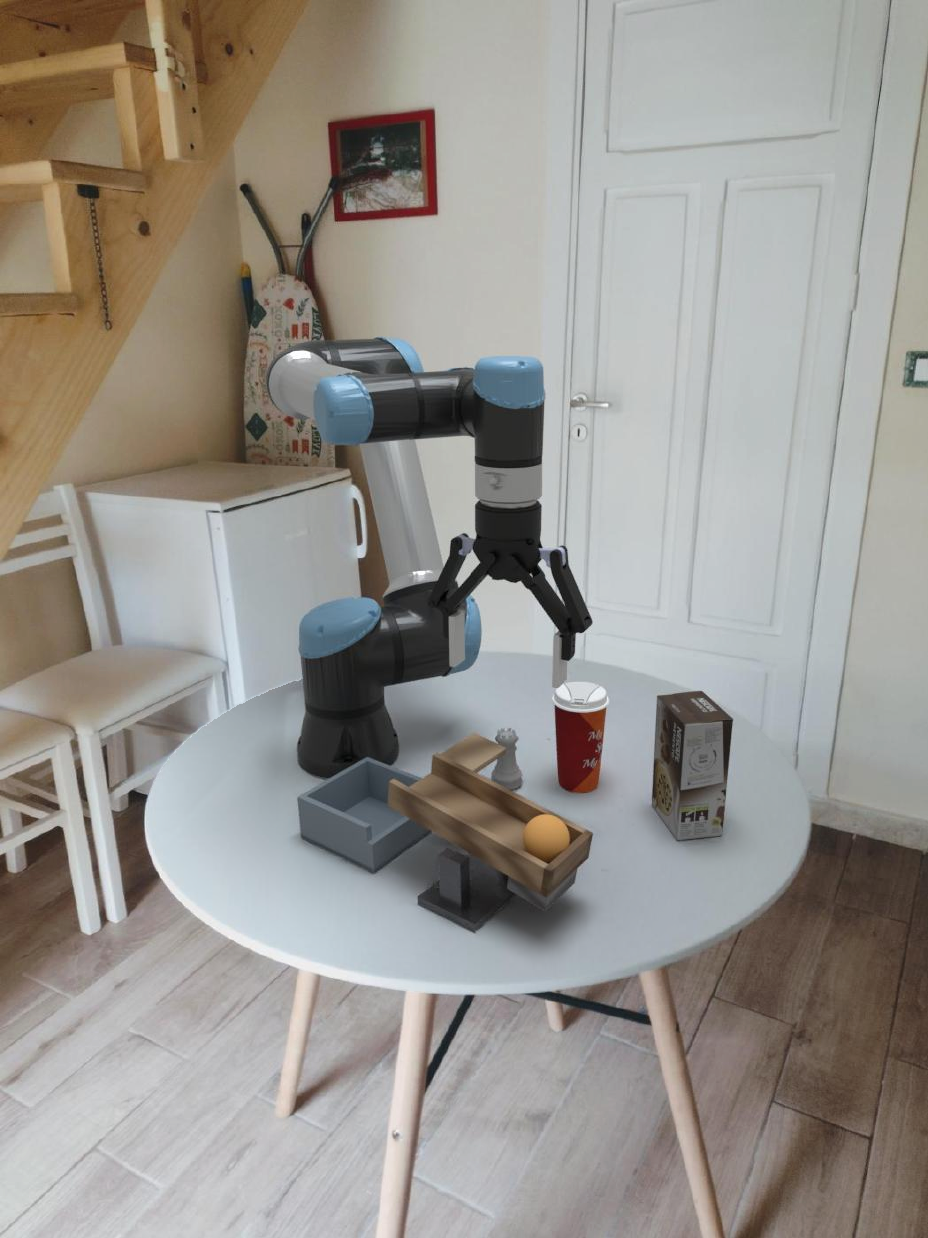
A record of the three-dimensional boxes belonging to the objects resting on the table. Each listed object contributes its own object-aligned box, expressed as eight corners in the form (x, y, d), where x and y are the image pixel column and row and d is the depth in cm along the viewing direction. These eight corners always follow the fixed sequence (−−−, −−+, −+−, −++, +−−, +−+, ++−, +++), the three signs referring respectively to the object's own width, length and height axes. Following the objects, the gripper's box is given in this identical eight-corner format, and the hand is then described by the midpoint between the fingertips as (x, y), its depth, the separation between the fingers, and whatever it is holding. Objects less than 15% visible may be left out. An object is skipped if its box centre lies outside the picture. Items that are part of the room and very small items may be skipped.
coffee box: (724, 836, 109) (735, 719, 103) (676, 842, 108) (684, 724, 103) (694, 798, 117) (703, 688, 112) (649, 803, 116) (655, 693, 111)
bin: (301, 838, 110) (297, 796, 108) (369, 795, 120) (367, 757, 118) (374, 873, 103) (371, 830, 101) (440, 825, 112) (439, 784, 110)
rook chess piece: (513, 795, 119) (513, 742, 116) (485, 786, 121) (484, 734, 119) (528, 780, 123) (528, 729, 120) (500, 772, 125) (500, 722, 122)
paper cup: (604, 799, 118) (608, 705, 113) (547, 794, 119) (549, 701, 114) (607, 771, 125) (610, 681, 120) (553, 766, 126) (555, 677, 122)
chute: (614, 849, 102) (623, 805, 100) (542, 920, 91) (550, 872, 88) (466, 772, 114) (471, 731, 111) (386, 826, 102) (389, 781, 100)
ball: (507, 848, 94) (523, 818, 91) (532, 827, 97) (549, 797, 94) (542, 880, 92) (560, 850, 89) (567, 857, 95) (585, 828, 93)
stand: (417, 904, 98) (415, 850, 95) (495, 841, 109) (495, 792, 106) (474, 932, 93) (473, 876, 91) (550, 864, 104) (550, 813, 102)
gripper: (396, 496, 100) (402, 665, 108) (603, 519, 89) (594, 705, 97) (428, 484, 106) (432, 644, 114) (625, 504, 96) (616, 680, 103)
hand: (506, 673), depth 105 cm, fingers open, 13 cm apart
